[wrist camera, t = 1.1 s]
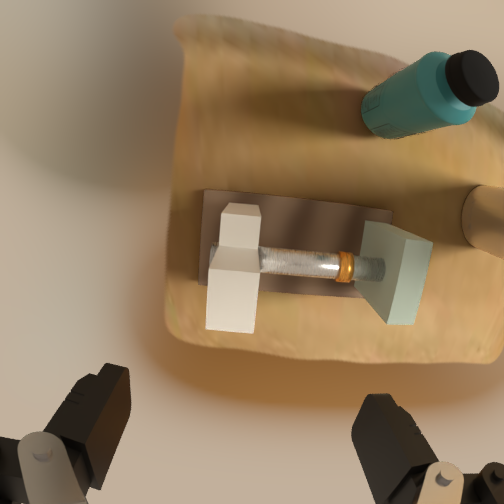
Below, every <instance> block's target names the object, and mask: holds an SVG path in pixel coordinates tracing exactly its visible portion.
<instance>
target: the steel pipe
mask: <svg viewBox="0 0 504 504" xmlns="http://www.w3.org/2000/svg"><path fill="white" fill-rule="evenodd" d="M218 246H219V242H212V244H211V249H210V260H209V266H210V264H211V262H212V260H213V258H214V255H215V253H216V251H217V248H218ZM258 255H259V266H260V273H270V274H282V275H293V276H305V277H318V278H330V279H334V280H335V281H336V282H348V283H349V282H350V281H351V280H356V281H369V282H382V280H383V279H384V276H385V272H386V264H385V261H384V259H383V258H376V257H366V256H356V255H353V254H352V253H351V252H342V251H338V252H337V253H325V252H315V251H305V250H294V249H284V248H273V247H262V246H258Z"/></svg>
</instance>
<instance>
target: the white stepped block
mask: <svg viewBox="0 0 504 504" xmlns="http://www.w3.org/2000/svg"><path fill="white" fill-rule="evenodd" d="M260 224H261V214H260V209H259V205H251V204H240V203H229V204H228V205H227V206H226V208H225V209H224V210H223V212H222V213H221V223H220V236H219V246H218V248H217V251H216V253H215V255H214V258H213V260H212V262H211V264H210V267H209V272H208V290H207V310H206V329H210V330H220V331H230V332H241V333H252V334H253V333H254V324H255V315H256V306H257V297H258V288H259V279H260V266H259V255H258V244H259V234H260Z"/></svg>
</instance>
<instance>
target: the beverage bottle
mask: <svg viewBox="0 0 504 504" xmlns="http://www.w3.org/2000/svg"><path fill="white" fill-rule="evenodd" d="M393 74H394V73H393ZM373 88H374V89H373ZM373 88H372V89H373V90H371V89H370V90H371V91H369V92H368V93H367V94H366V96H365V97H364V98H363V101H362V106H361V114H362V118H363V121H364V123H365V124H366V126H367V127H368V129H369V130H370V131H371V132H372V133H374V134H376V136H380V137H382V138H384V139H385V138H387V139H390V140H391V139H392V140H393V138H396V139H399V138H397V137H400V138H403V136H409V135H412V136H413V134H414V135H415V134H416V133H420V132H421V134H423V133H422V132H425V131H429V130H433V129H436V128H437V129H438V128H441V127H446V126H451V125H460V124H464V123H466V122H468V121H469V120H470V119H471V118H472V117H473V115H474V113H475V111H476V108H477V106H481V105H483V104H485V103H488V102H491V101H493V100H494V99H495V98H496V97H497V95H498V92H499V81H498V77H497V74H496V71H495V69H494V67H493V66H492V64H491V63H490V61H489V60H488V59H487V58H486V57H485V56H484V55H483V54H481V53H479V52H477V51H474V50H467V51H464V52H461V53H456V54H454V55H452V56H451V55H449V54H446V53H443V52H430V53H428V54H426V55H424V56H423V57H422V58H421V59H419V60H418V61H416V62H415V63H413V64H411V65H410V66H408V67H407V68H405V69H403V70H402V71H399V72H398V73H396V74H395V75H393V76H392V77H390V78H389V79H387V80H386V81H384V82H383V83H381V84H380V85H378V86H376V88H375V86H374V87H373ZM433 131H434V130H433ZM425 133H426V132H425ZM387 139H386V140H387Z"/></svg>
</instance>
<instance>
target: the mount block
mask: <svg viewBox="0 0 504 504" xmlns="http://www.w3.org/2000/svg"><path fill="white" fill-rule="evenodd" d="M432 246H433V242H431V241H428V240H426V239H424V238H422V237H419V236H417V235H414V234H412V233H410V232H407V231H405V230H403V229H400V228H398V227H395V226H393V225H390V224H388V223H381V222H373V221H366V220H365V226H364V232H363V239H362V245H361V251H360V256H366V257H376V258H383V259H384V261H385V264H386V272H385V276H384V279H383V280H382V282H369V281H356V280H355V283H354V287H355V288H356V289H357V290H358V291H359V292H360V293H361V295H362V296H363V297H364V298H365V299H366V300H367V302H368V303H369V304H370V305H371V306H372V307H373V309H374V310H375V311H376V312H377V313H378V315H379V316H380V317H381V318H382V319H383V320H384V322H385V323H386V324H392V325H413V324H414V321H415V317H416V314H417V310H418V307H419V303H420V299H421V295H422V291H423V287H424V283H425V279H426V275H427V270H428V266H429V261H430V256H431V252H432Z"/></svg>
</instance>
